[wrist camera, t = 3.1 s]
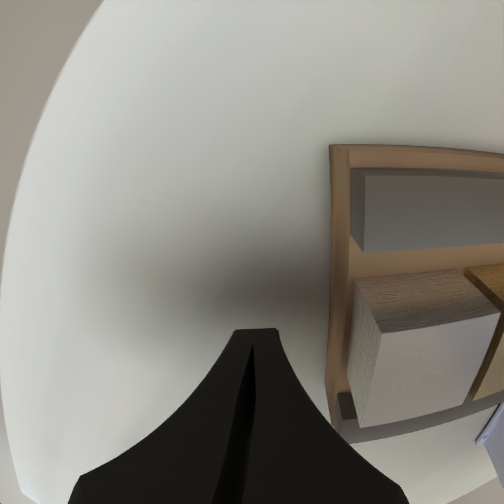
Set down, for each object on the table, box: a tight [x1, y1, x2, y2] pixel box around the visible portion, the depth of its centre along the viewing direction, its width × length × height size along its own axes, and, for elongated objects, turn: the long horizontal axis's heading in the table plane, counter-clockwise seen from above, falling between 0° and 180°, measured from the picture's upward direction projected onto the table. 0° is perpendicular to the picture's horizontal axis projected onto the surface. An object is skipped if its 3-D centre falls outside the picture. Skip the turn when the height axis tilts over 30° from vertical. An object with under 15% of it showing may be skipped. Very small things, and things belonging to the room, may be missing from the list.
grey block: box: [345, 268, 501, 428], centre depth 9 cm, size 4×4×3 cm
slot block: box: [325, 144, 504, 444], centre depth 11 cm, size 12×10×4 cm
